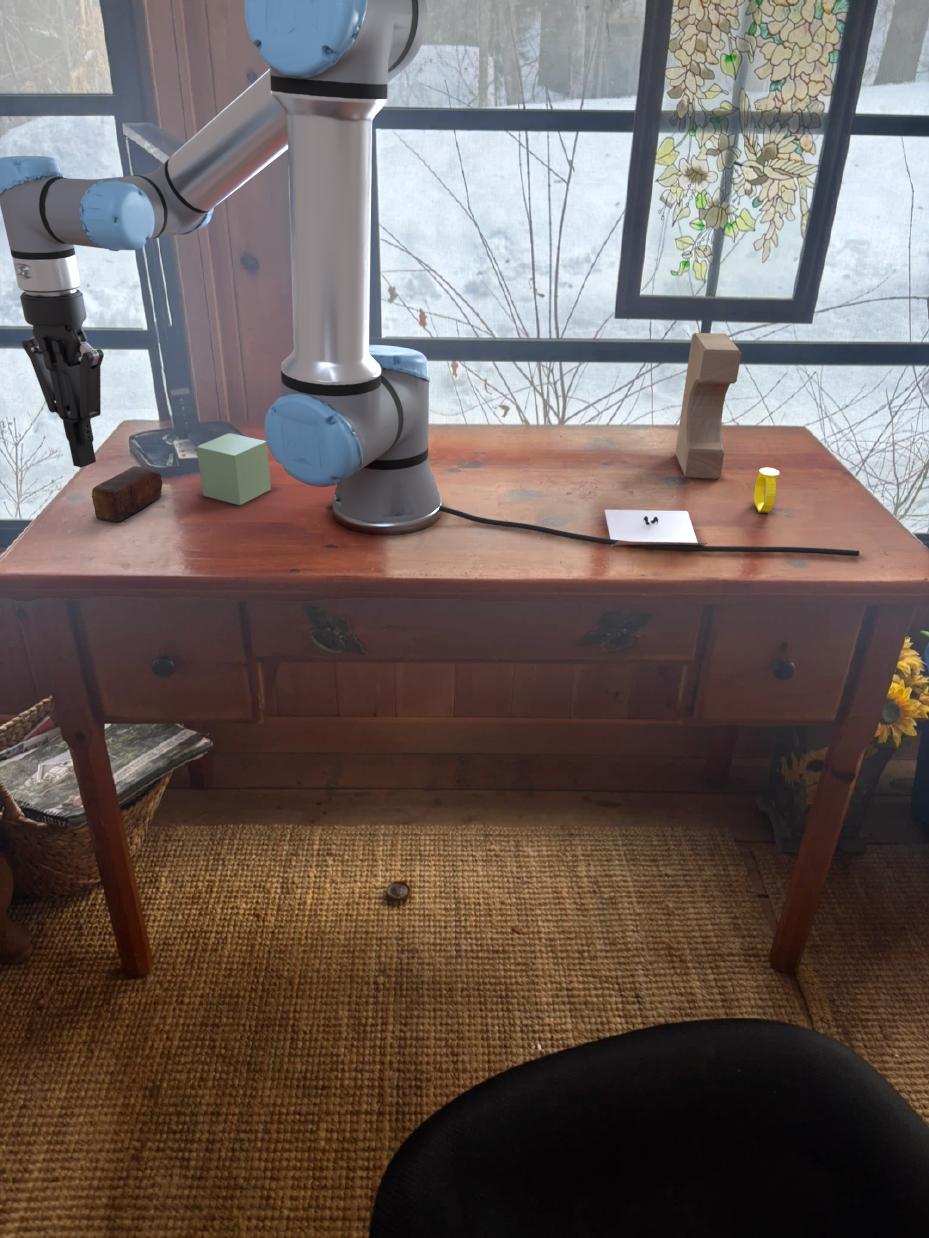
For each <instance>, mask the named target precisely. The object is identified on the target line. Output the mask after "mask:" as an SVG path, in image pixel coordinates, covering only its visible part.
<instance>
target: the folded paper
mask: <svg viewBox="0 0 929 1238" xmlns="http://www.w3.org/2000/svg"><path fill="white" fill-rule="evenodd" d="M604 515H605V518H606V519H605V520H606V523H607V530H608V533H609V534H608V535H609V539H614V540H622V541H617V542H616V543H615V544H614V545H611V547H618V546H617V545H693V546H706V545H707V544H708V542H698V539H697V536H696V534H695V530H694V527H693V524H692V521H691V517H690V514H689V511H688V510H648V509H647V510H646V509H645V510H644V509H604Z"/></svg>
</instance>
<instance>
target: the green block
mask: <svg viewBox="0 0 929 1238" xmlns="http://www.w3.org/2000/svg"><path fill="white" fill-rule="evenodd" d="M195 447H196V454H197V462H198V469H199V477H200V485H201V491H202V496H203V497H206V498H210V499H214V500H218V501H222V502H225V503H229V504H233V505H236V506H237V505H238V506H242V505H244V504H246V503H248V502H250V501H251V500H254V499H255V498H258V497H260V496H261V495H263V494H265V493H267V492H269V491H271V490H272V487H271V486H272V484H271V474H270V473H271V472H270V463H269V453H268V444H267V441H266V440H263V439H258V438H254V437H250V436H245V435H240V434H236V433H231V432H228V433H226V434H223V435H221V436H218V437H216V438H214V439H211V440H209V441H206V442H205V443H202V444H200V445H197V446H195Z"/></svg>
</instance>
